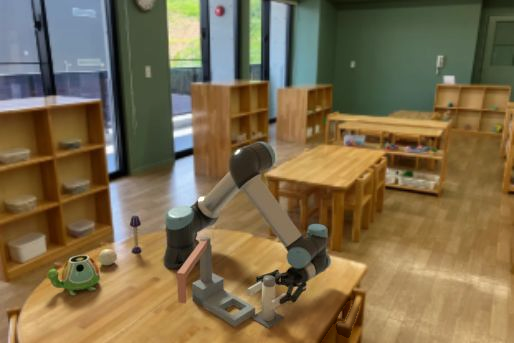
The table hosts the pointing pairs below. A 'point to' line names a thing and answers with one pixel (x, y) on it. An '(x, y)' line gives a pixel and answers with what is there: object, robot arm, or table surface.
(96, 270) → the turtle holder
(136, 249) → the toy lamp
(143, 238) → the table surface
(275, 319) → the mat
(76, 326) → the table surface
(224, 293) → the dock
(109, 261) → the cream oval egg shape
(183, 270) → the pink bent bar
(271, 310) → the bottle
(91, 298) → the table surface
